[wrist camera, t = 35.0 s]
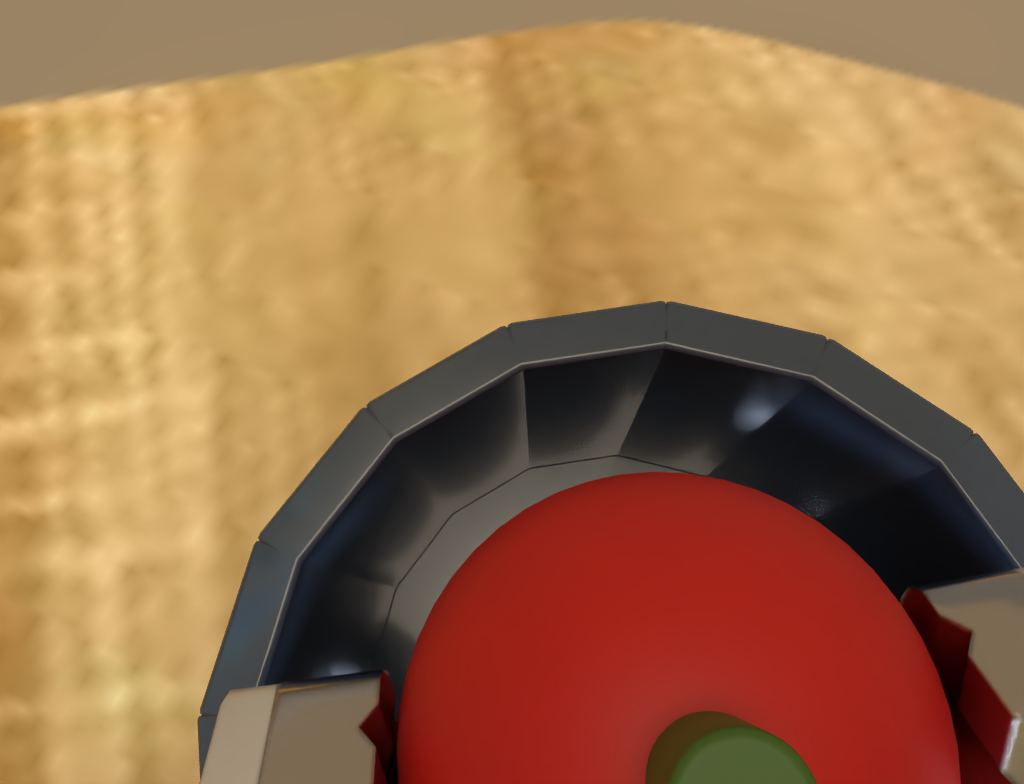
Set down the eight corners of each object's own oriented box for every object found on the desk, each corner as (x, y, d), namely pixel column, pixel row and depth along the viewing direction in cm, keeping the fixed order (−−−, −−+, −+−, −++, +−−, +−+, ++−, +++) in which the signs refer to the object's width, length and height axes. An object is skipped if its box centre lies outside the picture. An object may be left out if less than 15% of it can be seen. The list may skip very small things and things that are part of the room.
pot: (683, 1137, 14) (819, 1622, 7) (237, 749, 16) (5, 844, 9) (979, 638, 16) (1312, 645, 9) (551, 340, 17) (559, 160, 11)
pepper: (667, 973, 12) (915, 1656, 4) (380, 735, 13) (121, 909, 5) (860, 661, 13) (1366, 714, 5) (579, 461, 14) (631, 240, 6)
